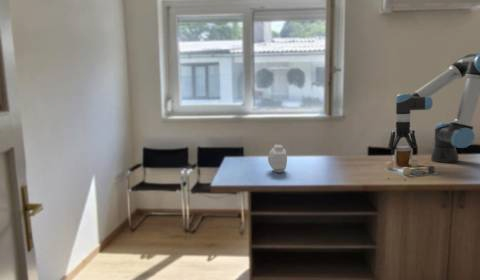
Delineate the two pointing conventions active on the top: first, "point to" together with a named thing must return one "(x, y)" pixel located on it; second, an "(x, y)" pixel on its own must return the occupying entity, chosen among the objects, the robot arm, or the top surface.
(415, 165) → the board
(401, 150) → the disposable coffee cup
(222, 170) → the top surface
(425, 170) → the stool leg
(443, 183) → the top surface
